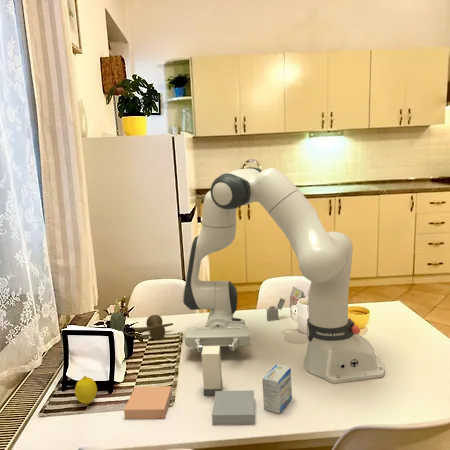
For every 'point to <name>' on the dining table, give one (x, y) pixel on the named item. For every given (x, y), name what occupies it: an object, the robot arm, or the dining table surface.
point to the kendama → (154, 327)
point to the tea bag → (296, 296)
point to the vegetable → (118, 321)
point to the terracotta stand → (148, 403)
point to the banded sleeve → (211, 370)
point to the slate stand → (233, 407)
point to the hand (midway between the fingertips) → (215, 348)
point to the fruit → (85, 390)
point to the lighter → (274, 311)
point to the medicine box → (277, 388)
